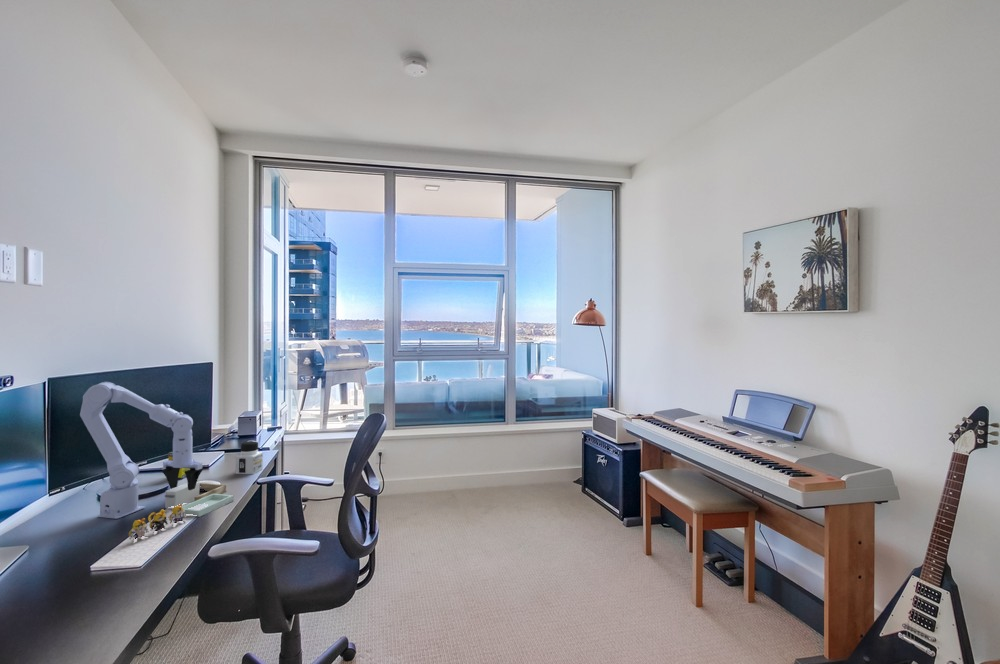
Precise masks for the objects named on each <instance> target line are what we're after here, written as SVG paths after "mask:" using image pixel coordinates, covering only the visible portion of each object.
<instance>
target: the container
mask: <svg viewBox="0 0 1000 664" xmlns="http://www.w3.org/2000/svg"><path fill="white" fill-rule="evenodd" d="M263 458H264V453H263V451H259V442H258V441H256V440H247V441H243V442H241V443H240V454H237V455H236V456H235V475H254V474H256V473H258V472H260V471H261V470H263V468H264V467H263V465H264V463H263Z"/></svg>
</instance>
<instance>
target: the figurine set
mask: <svg viewBox="0 0 1000 664" xmlns="http://www.w3.org/2000/svg"><path fill="white" fill-rule="evenodd" d="M180 506H181V507H180ZM182 509H183V508H182V504H180V505H178V506H176V507H175V506H174V508H173V509H171V514H170V515H169V517H168V519H167V515H166V512H167V511H166V510H164V509H163V508H162V509H161V510H159V512H157V513H156V512H151V513H150V514H149V515H148V517H147V520H148V522H149V524H147V523H146V518H145V517H142V518H141V519H137V520H134V522H133V524H132V527H131V529H130V531H129V532H128V539H129V540H132V539H133V538H135V539H136V538H138V539H139V538H141V537H142V536H146V533H149V532H153V531H158V532H159V531H161V529H162V528H164V529H166V528H165V527H166V526H168V525H169V524H172V523H177V524H178V523H179V521H183V520H184V519H185V518H187V516H186V514H185V510H184V509H183V510H182ZM152 516H153V517H152ZM168 520H169V521H170V522H169V521H168ZM168 522H169V523H168ZM183 522H184V521H183ZM148 526H149V528H147V527H148ZM149 530H150V531H149Z"/></svg>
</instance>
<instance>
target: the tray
mask: <svg viewBox="0 0 1000 664" xmlns="http://www.w3.org/2000/svg"><path fill="white" fill-rule="evenodd" d="M234 496H235V495H232V494H224V493H222V494H211V495H208V496H206V497H204V498H201V499H199V500H197V501H193V502H190V503H188V504H186V505H184V506H181V507H182V508H183V509H184V510H185V514H193V515H197V516H198V517H197V518H200V517H203V516H204V515H207V514H209V513H211V512H213V511H215V510H217V509H219V508H223V506H226V505H228V504H230V503H232V502H234V500H235V499H234ZM204 503H205V504H208V506H207V507H204V508H202V509H200V510H194V509H188V508H191V507H194V506H196V505H198V504H204ZM183 509H182V510H183Z"/></svg>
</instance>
